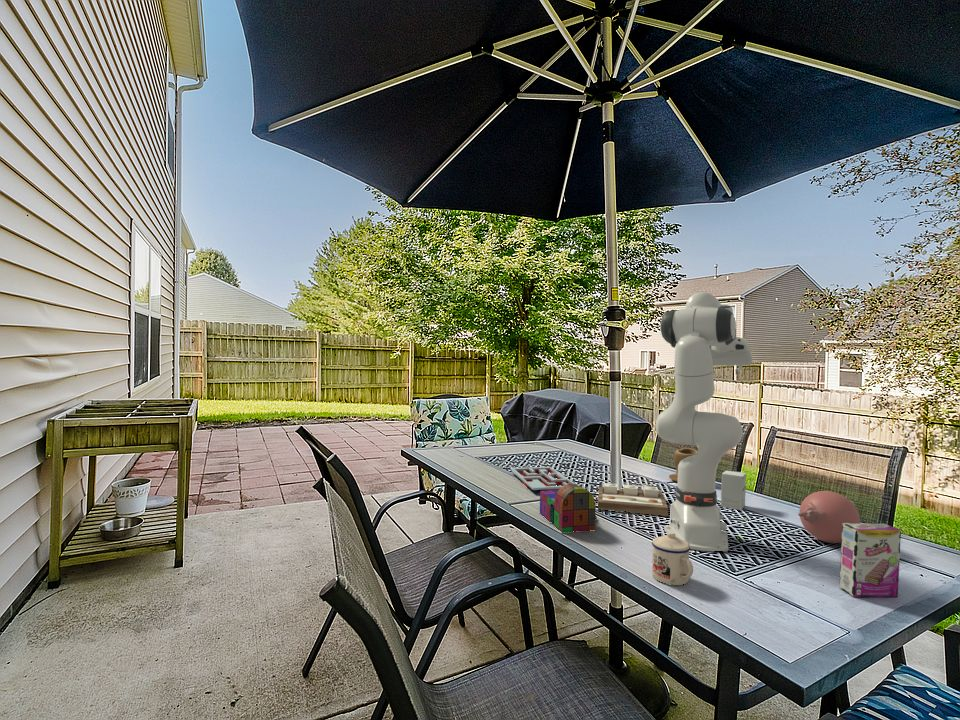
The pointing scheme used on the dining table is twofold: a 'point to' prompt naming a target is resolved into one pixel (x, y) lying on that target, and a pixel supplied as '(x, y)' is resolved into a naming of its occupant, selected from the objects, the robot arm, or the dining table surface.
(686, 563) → the teacup with lid
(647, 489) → the right button
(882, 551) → the candy bar box
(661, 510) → the button board
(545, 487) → the maze game
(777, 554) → the dining table surface
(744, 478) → the supplement box
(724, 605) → the dining table surface
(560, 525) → the block puzzle
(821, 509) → the red onion
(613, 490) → the left button
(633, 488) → the middle button
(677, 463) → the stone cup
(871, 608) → the dining table surface
